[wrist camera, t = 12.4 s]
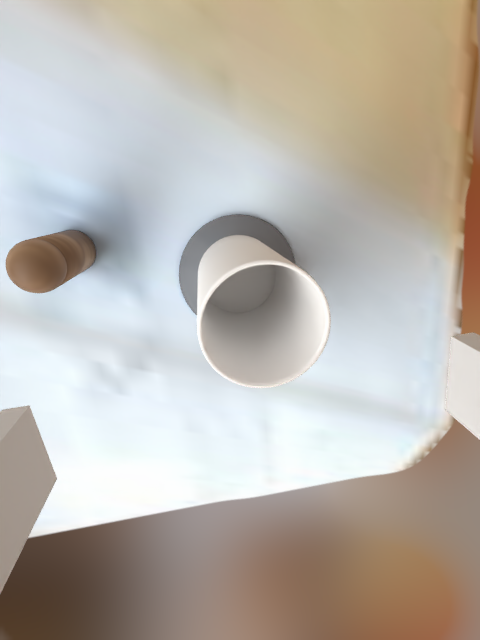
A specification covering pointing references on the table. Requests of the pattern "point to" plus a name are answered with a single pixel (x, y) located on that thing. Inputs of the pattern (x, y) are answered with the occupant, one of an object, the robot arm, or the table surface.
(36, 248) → the pepper mill
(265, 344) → the cup
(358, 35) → the table surface
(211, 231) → the coaster
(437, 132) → the table surface
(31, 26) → the table surface
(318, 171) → the table surface
